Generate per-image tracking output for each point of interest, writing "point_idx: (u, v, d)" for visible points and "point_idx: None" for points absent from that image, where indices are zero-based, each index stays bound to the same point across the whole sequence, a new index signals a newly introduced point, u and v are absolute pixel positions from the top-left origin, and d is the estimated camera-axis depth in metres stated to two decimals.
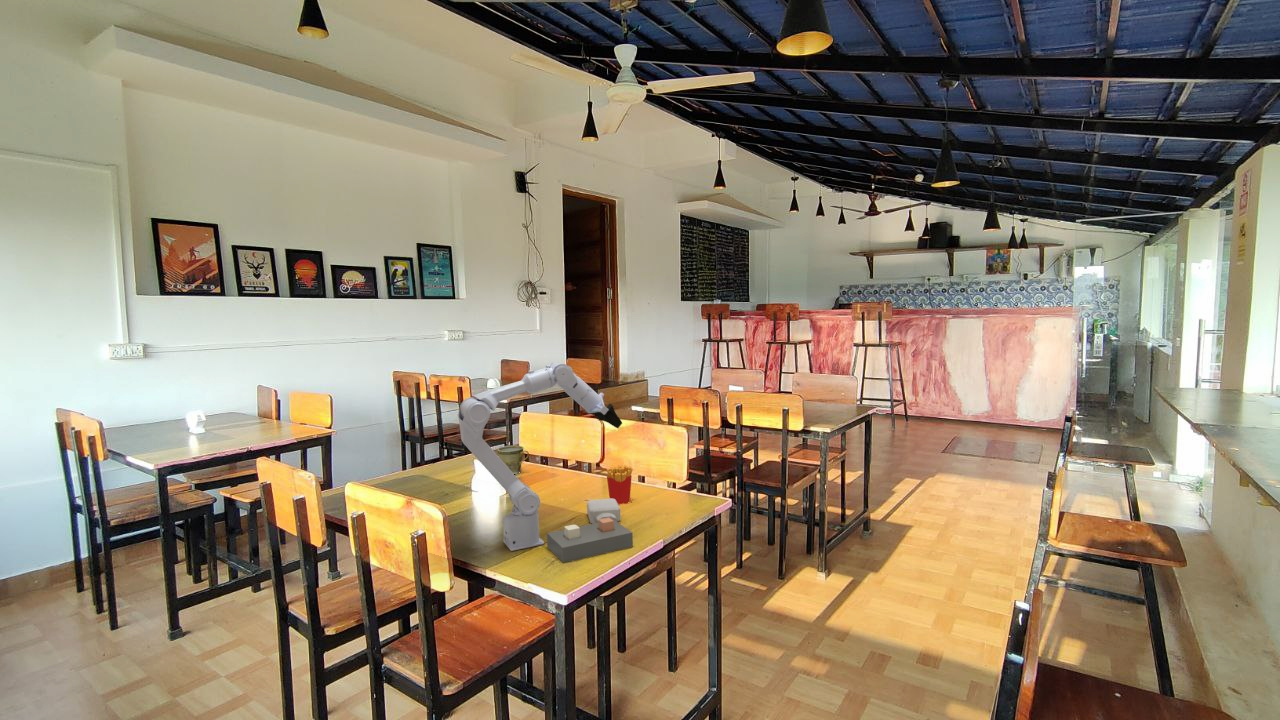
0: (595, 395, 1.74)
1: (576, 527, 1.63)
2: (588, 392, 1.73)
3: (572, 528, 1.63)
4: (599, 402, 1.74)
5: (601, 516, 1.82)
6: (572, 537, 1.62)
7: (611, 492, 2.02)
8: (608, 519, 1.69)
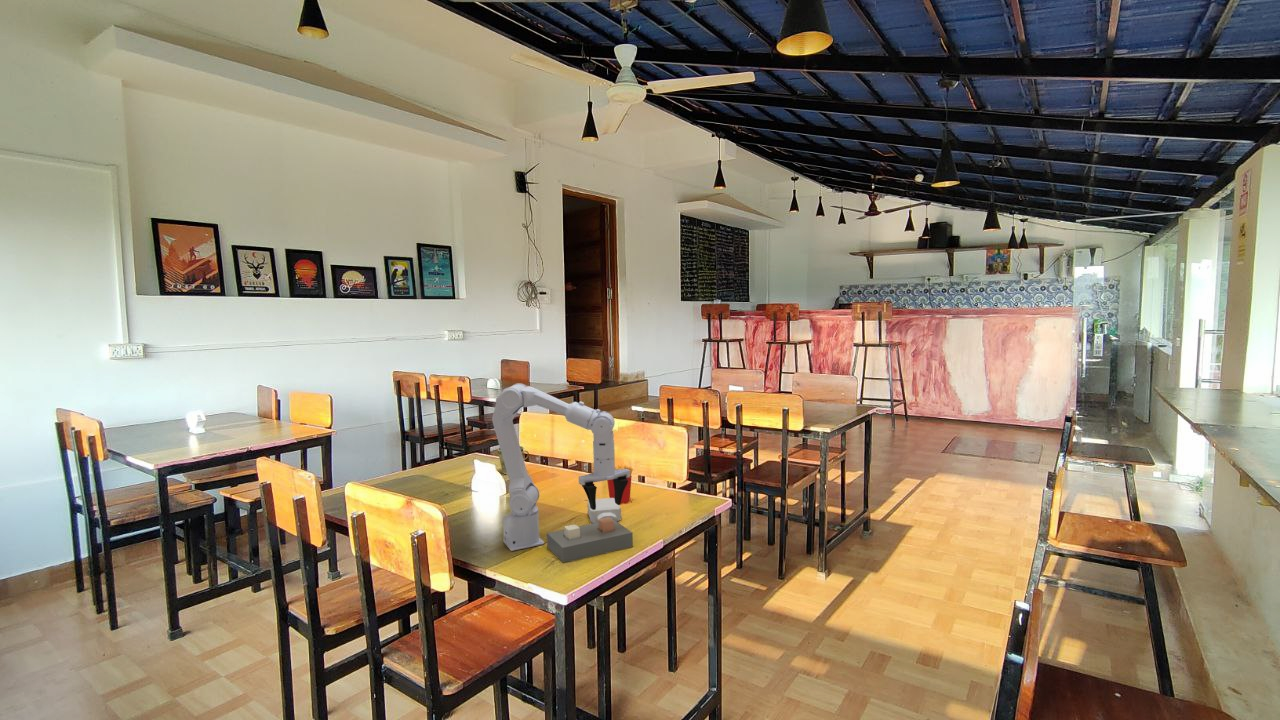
0: (600, 469, 1.64)
1: (576, 527, 1.63)
2: (597, 460, 1.64)
3: (572, 528, 1.63)
4: (596, 476, 1.65)
5: (602, 515, 1.82)
6: (572, 537, 1.62)
7: (611, 492, 2.02)
8: (608, 519, 1.69)
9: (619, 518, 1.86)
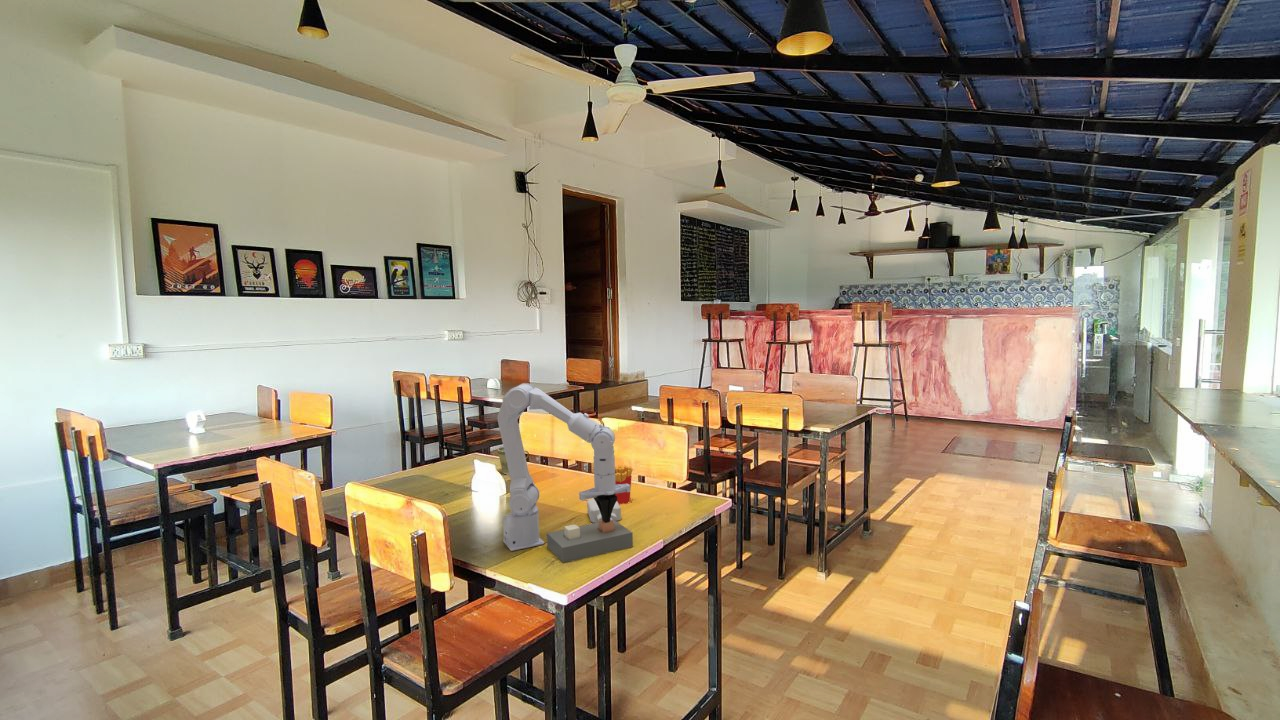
0: (601, 485, 1.65)
1: (576, 527, 1.63)
2: (597, 475, 1.65)
3: (572, 528, 1.63)
4: (597, 491, 1.65)
5: None
6: (572, 537, 1.62)
7: None
8: None
9: (619, 517, 1.86)
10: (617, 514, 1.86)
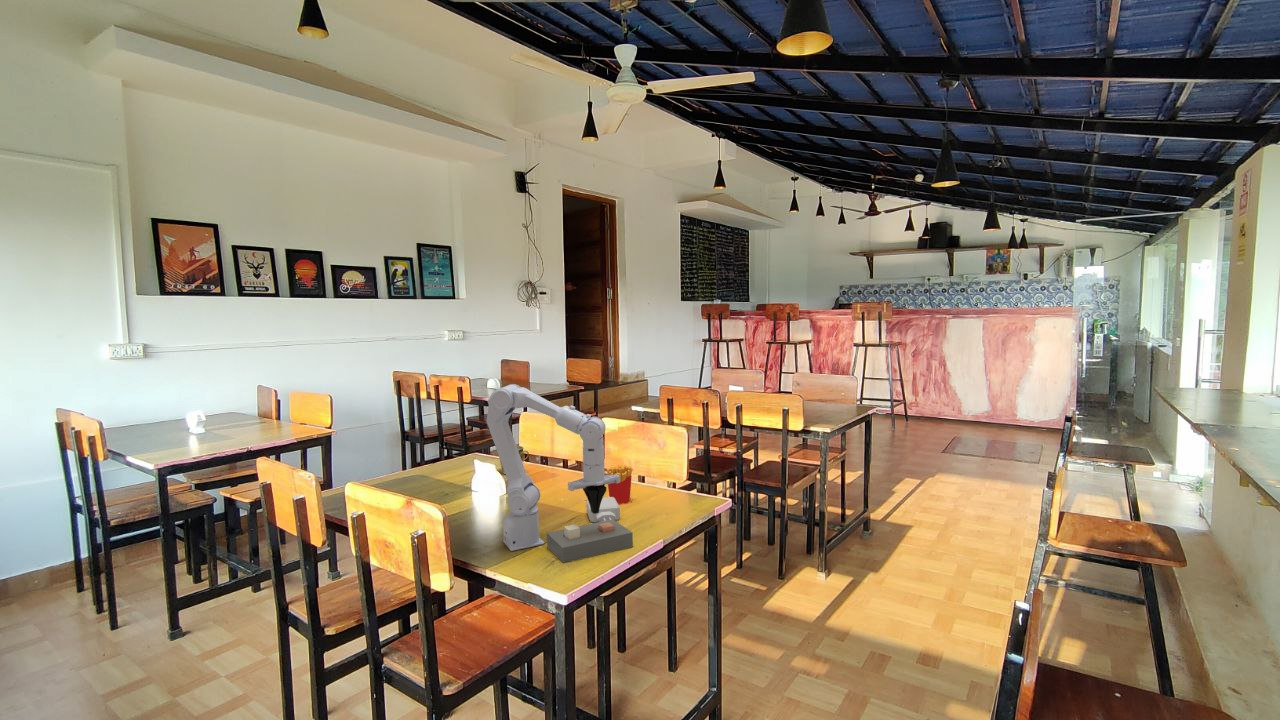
0: (590, 475, 1.63)
1: (576, 527, 1.63)
2: (586, 466, 1.63)
3: (572, 528, 1.63)
4: (586, 482, 1.63)
5: (601, 514, 1.83)
6: (572, 537, 1.62)
7: (611, 492, 2.02)
8: (608, 524, 1.69)
9: (618, 517, 1.87)
10: (616, 514, 1.86)
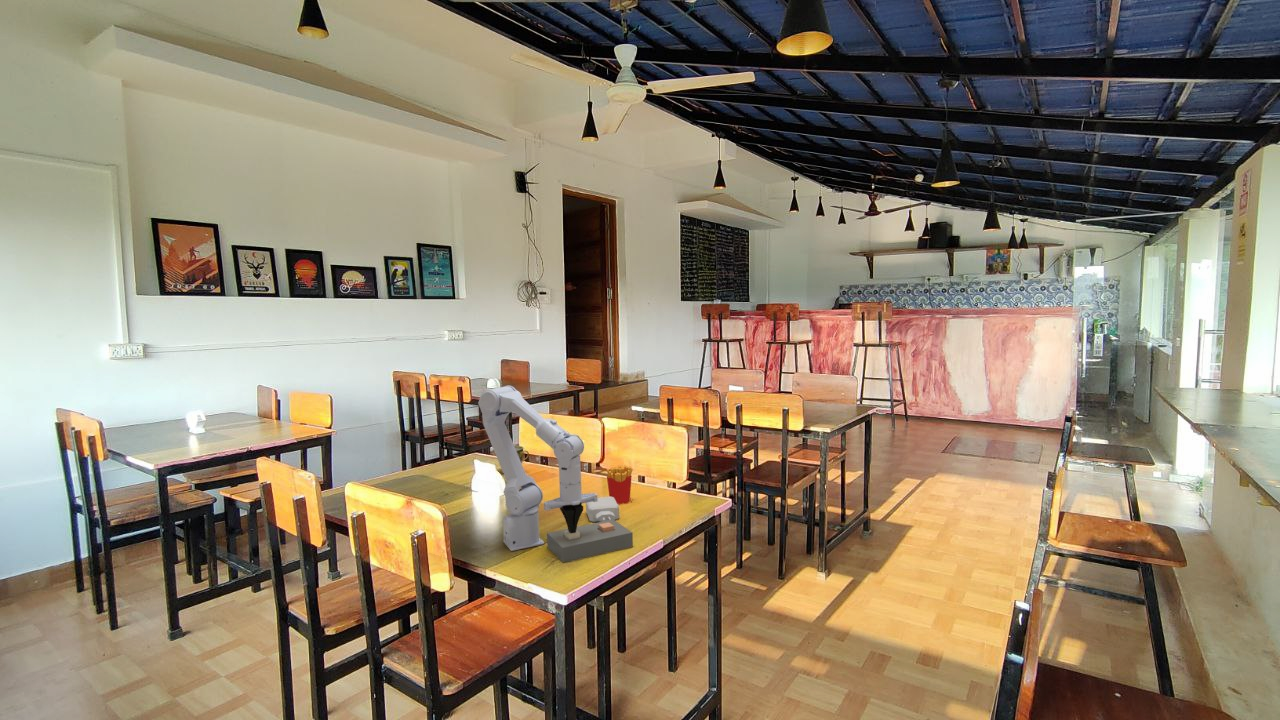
0: (566, 494, 1.60)
1: (576, 531, 1.63)
2: (562, 485, 1.60)
3: (572, 533, 1.63)
4: (562, 501, 1.61)
5: (600, 514, 1.83)
6: None
7: (611, 492, 2.02)
8: (608, 524, 1.69)
9: (617, 516, 1.87)
10: (615, 513, 1.87)
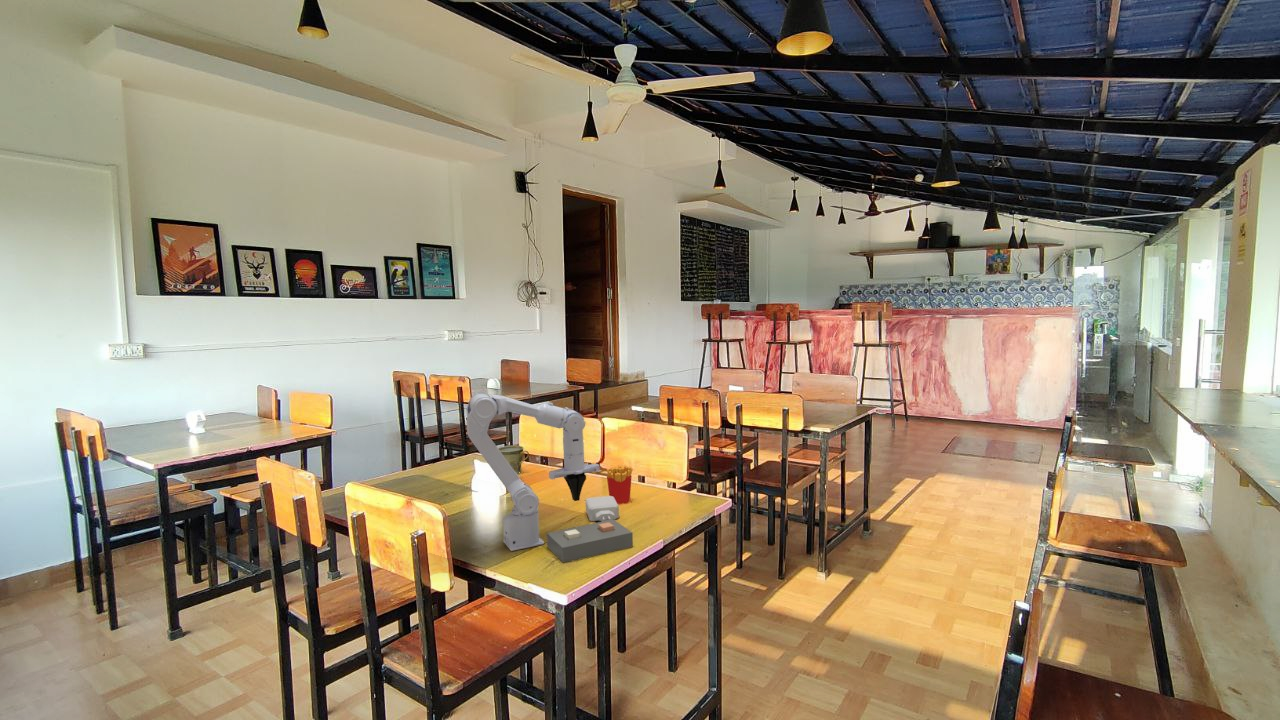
0: (570, 464, 1.71)
1: (576, 532, 1.63)
2: (566, 455, 1.71)
3: (572, 533, 1.63)
4: (566, 471, 1.72)
5: (600, 513, 1.84)
6: None
7: (611, 492, 2.02)
8: (608, 524, 1.69)
9: (617, 516, 1.88)
10: (615, 512, 1.87)
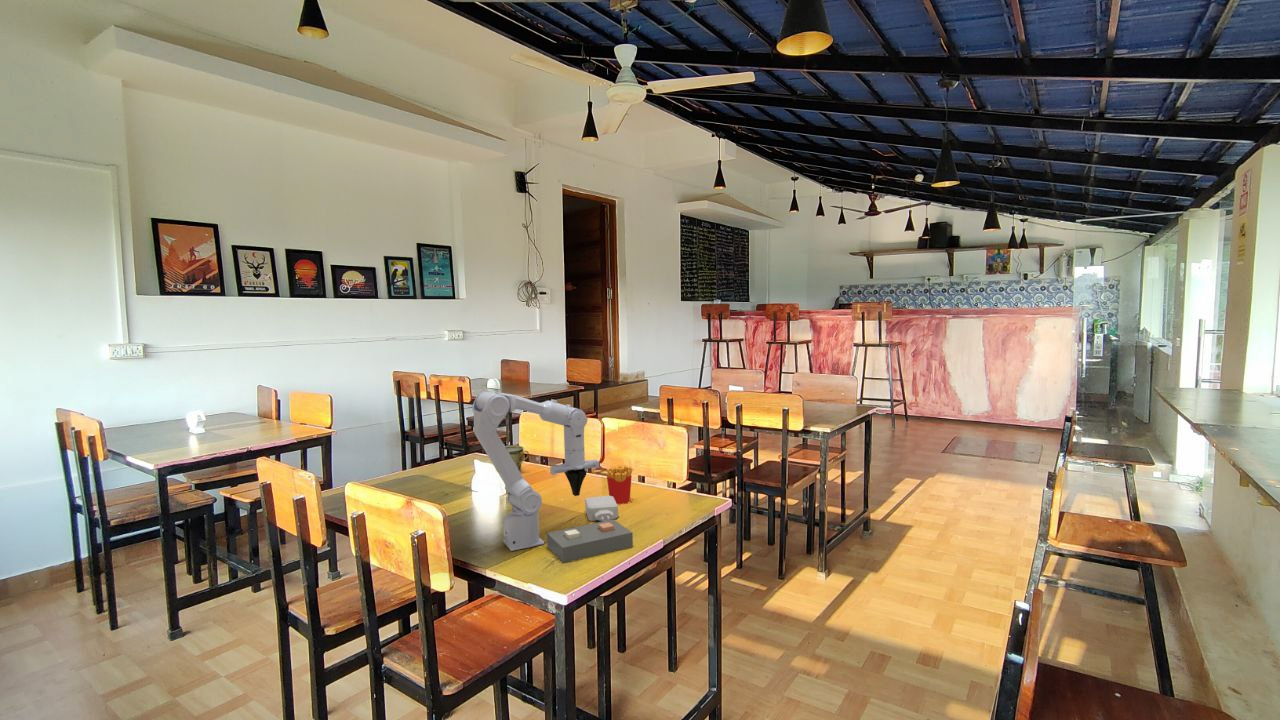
0: (570, 460, 1.75)
1: (576, 532, 1.63)
2: (567, 451, 1.75)
3: (572, 533, 1.63)
4: (567, 466, 1.76)
5: (599, 513, 1.84)
6: None
7: (611, 492, 2.02)
8: (608, 524, 1.69)
9: (616, 516, 1.88)
10: (614, 512, 1.87)
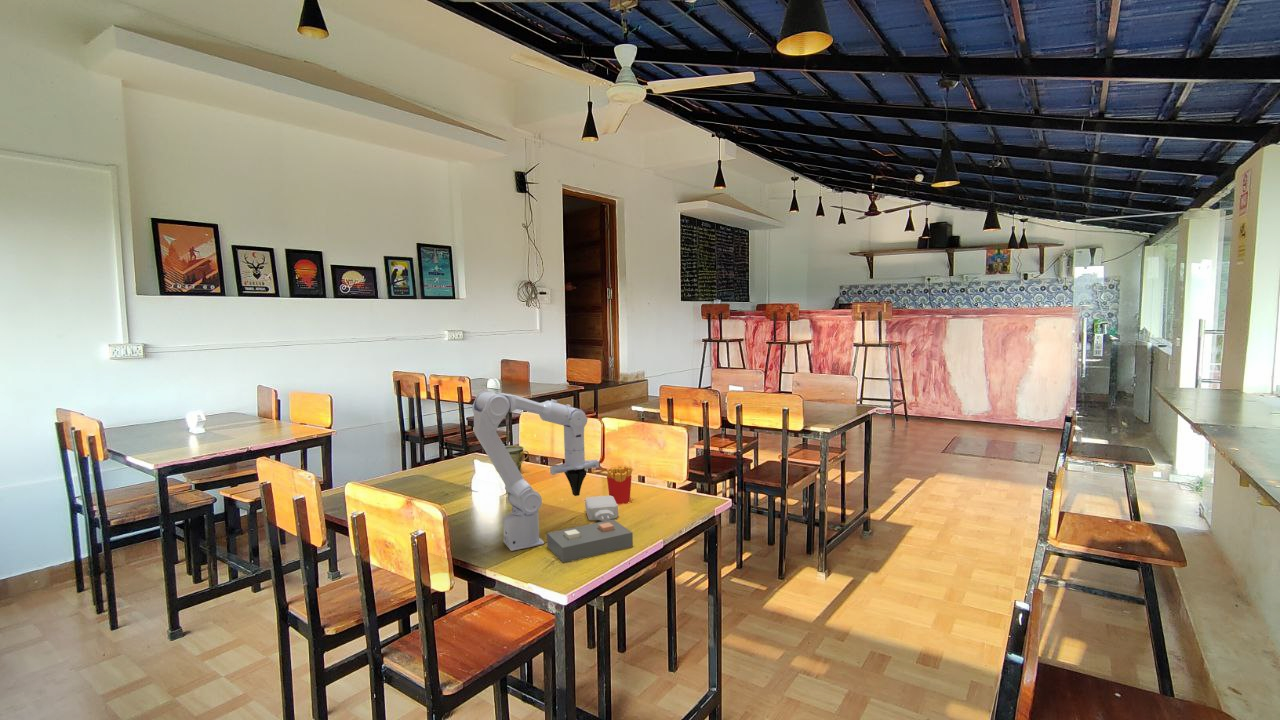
0: (570, 460, 1.75)
1: (576, 532, 1.63)
2: (567, 451, 1.75)
3: (572, 533, 1.63)
4: (567, 466, 1.76)
5: (599, 513, 1.85)
6: None
7: (611, 492, 2.02)
8: (608, 524, 1.69)
9: (616, 515, 1.88)
10: (614, 512, 1.88)
